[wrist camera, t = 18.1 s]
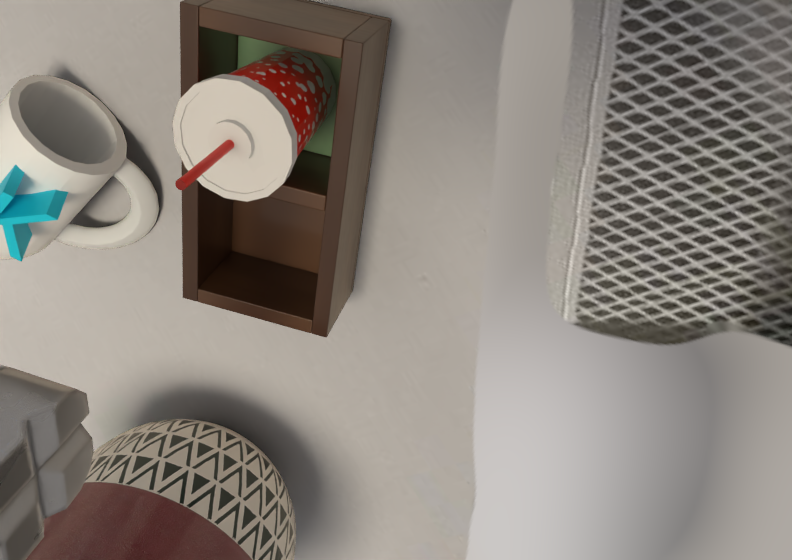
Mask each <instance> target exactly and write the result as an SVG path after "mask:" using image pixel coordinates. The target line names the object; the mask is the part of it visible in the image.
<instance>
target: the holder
mask: <svg viewBox="0 0 792 560" xmlns="http://www.w3.org/2000/svg"><path fill="white" fill-rule="evenodd" d="M390 26H391V19H390V18H386V17H381V16H377V15H372V14H367V13H363V12H358V11H354V10H349V9H345V8H340V7H336V6H331V5H327V4H322V3H318V2H313V1H309V0H184V1H182V2H180V44H181V98H182V96H183V95H184V94H185V93H186V92H187V91H188V90H189V89H190V88H191V87H192V86H193V85H194V84H196V83H199V82H201V81H202V80H205V79H208V78H212V77H215V76H218V75H221V74H229V73H231V72H233V71H235V70H238V69H240V68H242V67H244V66H246V65H248V64H250V63H252V62H254V61H256V60H258V59H260V58H263V57H265V56H267V55H269V54H271V53H273V52H275V51H278V50H281V49H284V48H287V47H292V48H296V49H301V50H305V51H309V52H312V53H314V54H316V55H318V56H319V57H320V58H321V59H322V60H323V61H324V63H325V64H326V65H327V66H328V67H329V69H330V70H331V73H332V76H333V79H334V81H335V84H336V100H335V103H334V105H333V107H332V109H331V112H330V114H329V115H328V116H327V118H326V119H325V120H324V122H323V123H322V124H321V126H320V127H319V128H318V130H317V131H316V132H315V134H314V135H313V136H312V138H311V139H310V141H309V142H308V143H307V145H306V146H305V147H304V149H303V150H302V151H301V153H300V154H299V155H298V157H297V159H296V161H295V164H294V166H293V168H292V171H291V173H290V175H289V177H288V178H287V179H286V181H285V182H284V183H283V184H282V185H281V186H280V187H279V188H278V189H276V190H275V191H274V192H273V193H272V194H270V195H269V196H268V197H264V198H260V199H256V200H252V201H248V202H246V201H240V200H234V199H227V198H224V197H222V196H220V195H218V194H216V193H214V192H213V191H211V190H209V189H207V188H205V187H204V186H202V185H201V184H200V182H199V181H198V180H197V179H196V180H195V181H194V182H193V183H191V184H190V185H189V186H188V187H187V188H186V189H184V190H182V243H183V298H186V299H190V300H194V301H198V302H201V303H205V304H208V305H212V306H215V307H219V308H222V309H226V310H230V311H233V312H237V313H240V314H244V315H248V316H251V317H255V318H258V319H262V320H265V321H269V322H273V323H276V324H280V325H283V326H287V327H291V328H294V329H298V330H301V331H305V332H309V333H311V332H312V334H316V335H319V336H323V337H327V336H328V334H329V332H330V330H331V329H332V327H333V325H334V323H335V321H336V320H337V318H338V316H339V314H340V312H341V311H342V309H343V307H344V305H345V303H346V302H347V300H348V298H349V296H350V294H351V293H352V291H353V284H354V277H355V270H356V263H357V256H358V249H359V242H360V235H361V228H362V221H363V214H364V207H365V200H366V193H367V186H368V179H369V172H370V165H371V158H372V151H373V144H374V137H375V130H376V123H377V116H378V109H379V102H380V95H381V89H382V82H383V75H384V68H385V61H386V54H387V47H388V40H389V33H390ZM187 172H188V170H187V169H186V167H185V165H184V163H183V161H182V176H183V175H184V174H186V173H187Z"/></svg>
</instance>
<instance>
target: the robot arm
mask: <svg viewBox="0 0 792 560" xmlns="http://www.w3.org/2000/svg"><path fill="white" fill-rule="evenodd" d="M88 414H89V407H88V401H87V395H86V393H84V392H82V391H80V390H77V389H74V388H71V387H68V386H65V385H62V384H59V383H56V382H53V381H50V380H47V379H44V378H41V377H38V376H35V375H32V374H29V373H26V372H23V371H20V370H17V369H14V368H11V367H6V366H3V365H0V560H26V559H27V557H28V556H29V555H30V554H31V552H32V551H33V550H34V549H35V547H36V546H37V545H38V544H39V543H40V541H41V540H42V539H43V538H44V519H45V518H47V517H49V516H52V515H54V514H56V513H58V512H60V511H63V510H65V509H67V507H68V506H69V505H70V504H71V502H72V501H73V500H74V498H75V497H76V496H77V494H78V493H79V492H80V490H81V488H82V486H83V484H84V482H85V480H86V477H87V475H88V473H89V471H90V469H91V463H92V457H93V443H92V437H91V436H90V435H89V433H88V432H87V431H86V429H85V428H84V427H83V426H82V424H81V422H82V421H83V420H84V418H85V417H86V416H87V415H88Z"/></svg>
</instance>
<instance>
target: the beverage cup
mask: <svg viewBox="0 0 792 560" xmlns="http://www.w3.org/2000/svg"><path fill="white" fill-rule="evenodd" d="M335 100H336V84H335V81H334V79H333V76H332V73H331V70H330V69H329V67H328V66H327V65H326V64H325V63H324V61H323V60H322V59H321V58H320V57H319V56H318V55H316V54H314V53H312V52H309V51H305V50H301V49H296V48H292V47H287V48H284V49H281V50H278V51H275V52H273V53H271V54H269V55H267V56H265V57H263V58H260V59H258V60H256V61H254V62H252V63H250V64H248V65H246V66H244V67H242V68H240V69H238V70H235V71H233V72H231V73H229V74H221V75H218V76H215V77H212V78H208V79H205V80H202V81H201V82H199V83H196V84H194V85H193V86H192V87H191V88H190V89H189V90H188V91H187V92H186V93H185V94H184V95H183V96H182V98H181V99H180V100H179V101H178V104H177V108H176V111H175V114H174V118H173V121H172V124H173V133H174V142H175V147H176V149H177V151H178V153H179V155H180V157H181V159H182V161H183V163H184V165H185V167H186V169H187V170H188V172H187V173H186V174H184V175H183V176H182V177H181V178H179V179H178V180H177V181H176V183H175V184H176V187H177V188H178V189H179V190H184V189H186V188H187V187H188V186H189V185H190V184H191V183H193V182H194V181H195V180H196V179H197V180H198V181H199V182H200V184H201V185H202V186H204V187H205V188H207V189H209V190H211V191H213V192H214V193H216V194H218V195H220V196H222V197H224V198H227V199H234V200H240V201H246V202H248V201H252V200H256V199H260V198H264V197H268V196H269V195H270V194H272V193H273V192H274V191H275V190H276V189H278V188H279V187H280V186H281V185H282V184H283V183H284V182H285V181H286V179H287V178H288V177H289V175H290V173H291V171H292V168H293V166H294V164H295V161H296V159H297V157H298V155H299V154H300V153H301V151H302V150H303V149H304V147H305V146H306V145H307V143H308V142H309V141H310V139H311V138H312V136H313V135H314V134H315V132H316V131H317V130H318V128H319V127H320V126H321V124H322V123H323V122H324V120H325V119H326V118H327V116H328V115H329V114H330V112H331V109H332V107H333V105H334V103H335Z"/></svg>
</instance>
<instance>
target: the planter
mask: <svg viewBox="0 0 792 560" xmlns="http://www.w3.org/2000/svg"><path fill="white" fill-rule="evenodd" d="M295 544H296V521H295V515H294V509H293V505H292V501H291V498H290V496H289V493H288V490H287V488H286V485H285V483H284V481H283V480H282V478H281V476H280V474H279V472H278V471H277V469H276V468H275V466H274V465H273V464H272V462H271V461H270V460H269V459H268V457H267V456H266V455H265V454H264V453H263V452H262V451H261V450H260V449H259V448H258V447H257V446H255V445H254V444H253V443H252V442H250V441H249V440H248V439H246V438H245V437H243V436H242V435H240V434H238V433H236V432H234V431H232V430H230V429H228V428H225V427H223V426H220V425H217V424H214V423H210V422H205V421H199V420H191V419H171V420H162V421H156V422H151V423H147V424H144V425H140V426H137V427H135V428H132V429H130V430H128V431H126V432H124V433H122V434H120V435H118V436H116V437H115V438H113V439H112V440H110V441H108V442H107V443H105V444H104V445H102V446H101V447H99V448H98V449H97V450H95V451H94V452H93V457H92V463H91V469H90V471H89V473H88V475H87V477H86V480H85V482H84V484H83V486H82V488H81V490H80V492H79V493H78V494H77V496H76V497H75V498H74V500H73V501H72V502H71V504H70V505H69V506H68V507H67V509H65V510H63V511H60V512H58V513H56V514H54V515H52V516H49V517H47V518H45V519H44V538H43V539H42V540H41V541H40V543H39V544H38V545H37V546H36V547H35V549H34V550H33V551H32V552H31V554H30V555H29V556H28V557H27V559H26V560H294V556H295Z"/></svg>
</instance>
